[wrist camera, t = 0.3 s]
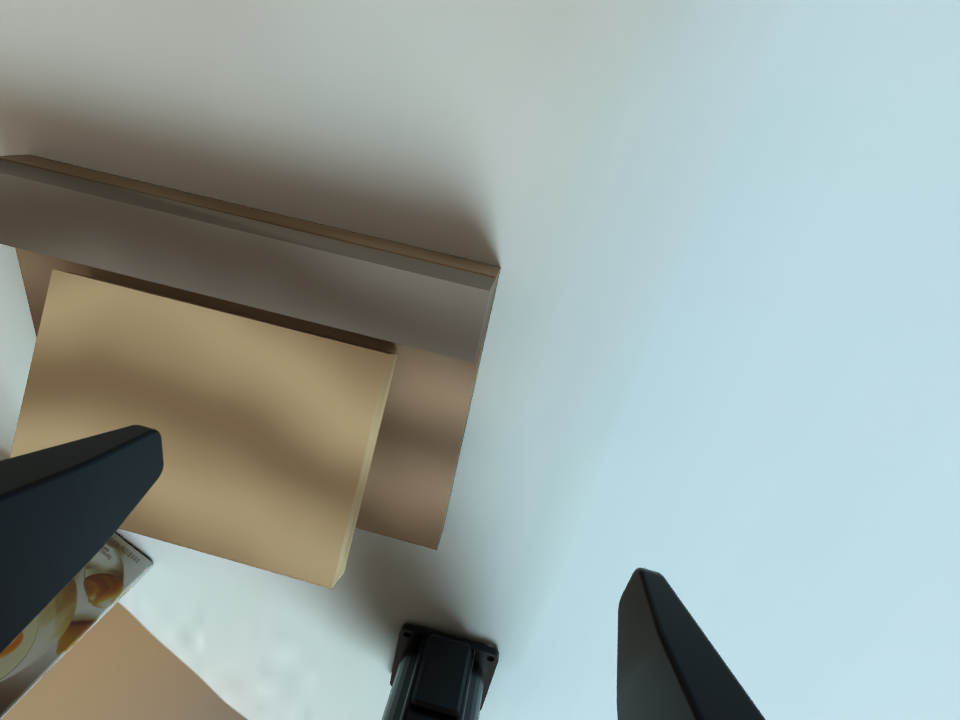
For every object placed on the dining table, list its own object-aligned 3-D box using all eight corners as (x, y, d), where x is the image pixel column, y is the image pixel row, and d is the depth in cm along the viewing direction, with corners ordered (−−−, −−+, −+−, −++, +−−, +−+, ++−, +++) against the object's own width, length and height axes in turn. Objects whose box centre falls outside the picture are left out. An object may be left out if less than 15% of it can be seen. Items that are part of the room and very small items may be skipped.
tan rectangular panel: (344, 572, 22) (331, 589, 20) (35, 485, 22) (1, 494, 21) (397, 354, 21) (389, 354, 20) (83, 274, 22) (52, 269, 21)
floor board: (442, 529, 28) (428, 577, 25) (86, 432, 29) (31, 466, 26) (500, 267, 21) (489, 289, 18) (28, 154, 22) (-55, 158, 19)
